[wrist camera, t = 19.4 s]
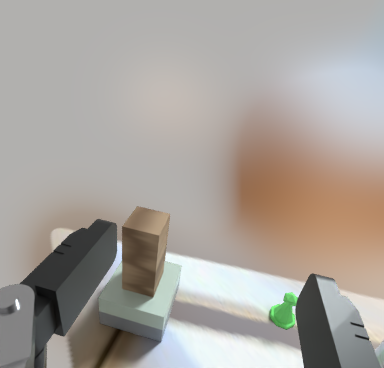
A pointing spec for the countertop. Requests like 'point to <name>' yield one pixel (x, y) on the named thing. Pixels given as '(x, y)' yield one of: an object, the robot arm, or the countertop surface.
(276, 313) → the game piece
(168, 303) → the pale green grey block
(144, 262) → the walnut block
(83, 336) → the countertop surface
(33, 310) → the robot arm
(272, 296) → the countertop surface
